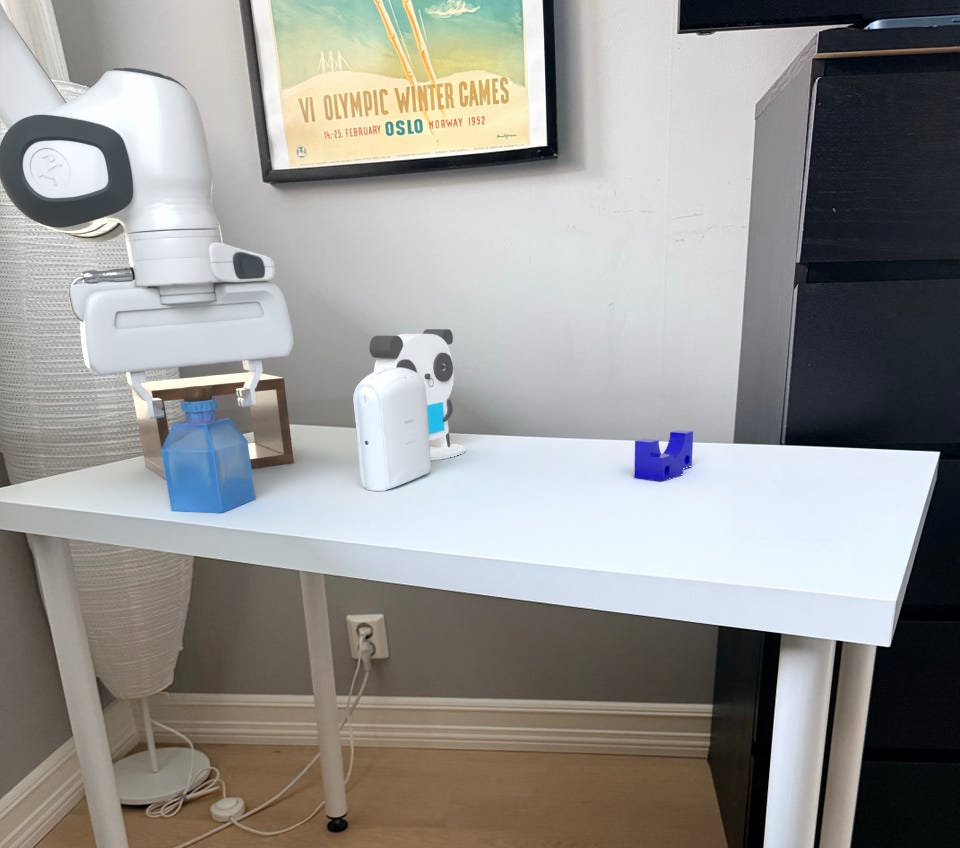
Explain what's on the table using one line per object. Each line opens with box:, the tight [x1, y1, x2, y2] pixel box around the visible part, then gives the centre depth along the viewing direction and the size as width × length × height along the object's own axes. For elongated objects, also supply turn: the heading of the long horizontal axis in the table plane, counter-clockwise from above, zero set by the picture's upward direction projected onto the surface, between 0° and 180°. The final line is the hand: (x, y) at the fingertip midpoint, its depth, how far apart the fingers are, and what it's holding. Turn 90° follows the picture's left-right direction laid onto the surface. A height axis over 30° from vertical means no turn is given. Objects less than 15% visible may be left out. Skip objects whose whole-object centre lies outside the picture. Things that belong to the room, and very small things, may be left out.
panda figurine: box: [368, 328, 466, 461], centre depth 117 cm, size 12×11×15 cm
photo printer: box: [352, 367, 432, 492], centre depth 102 cm, size 10×4×12 cm, turn 153°
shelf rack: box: [130, 371, 295, 481], centre depth 117 cm, size 16×12×10 cm
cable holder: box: [634, 429, 694, 482], centre depth 101 cm, size 8×4×4 cm, turn 135°
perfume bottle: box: [161, 386, 256, 514], centre depth 95 cm, size 6×6×12 cm
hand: (202, 411), depth 94 cm, fingers open, 8 cm apart
